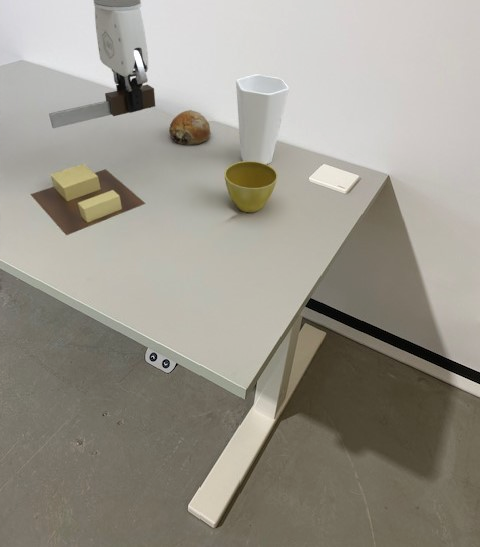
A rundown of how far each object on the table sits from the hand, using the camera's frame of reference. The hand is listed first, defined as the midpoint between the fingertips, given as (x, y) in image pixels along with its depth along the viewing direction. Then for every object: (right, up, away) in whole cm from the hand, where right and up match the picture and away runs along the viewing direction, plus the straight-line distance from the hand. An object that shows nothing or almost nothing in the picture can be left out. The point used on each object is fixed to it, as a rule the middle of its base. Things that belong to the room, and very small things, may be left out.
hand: (131, 107), depth 80 cm
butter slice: (-5, -21, -2) cm, 21 cm away
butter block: (-11, -15, +3) cm, 19 cm away
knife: (-4, -2, -2) cm, 5 cm away
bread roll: (+8, +2, +24) cm, 26 cm away
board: (-9, -19, +2) cm, 21 cm away
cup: (+25, -5, +18) cm, 31 cm away
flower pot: (+23, -18, +4) cm, 29 cm away
